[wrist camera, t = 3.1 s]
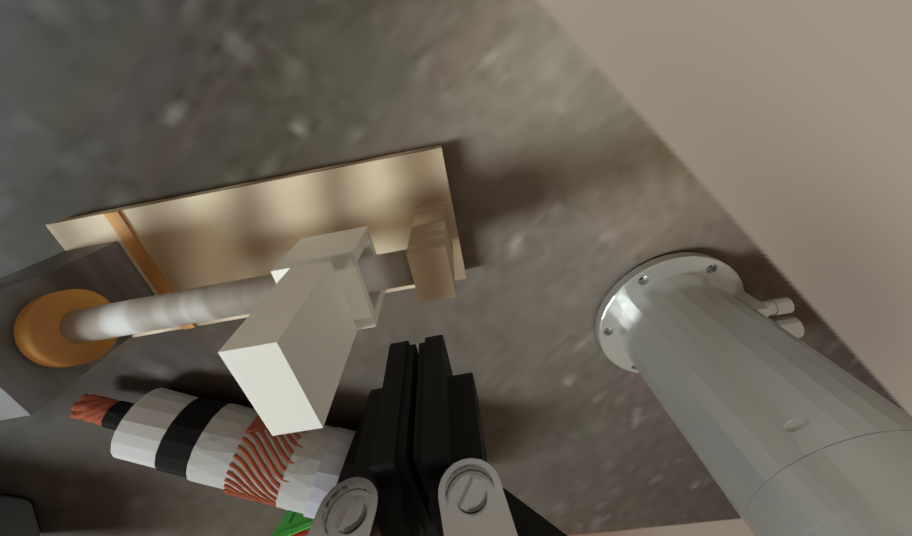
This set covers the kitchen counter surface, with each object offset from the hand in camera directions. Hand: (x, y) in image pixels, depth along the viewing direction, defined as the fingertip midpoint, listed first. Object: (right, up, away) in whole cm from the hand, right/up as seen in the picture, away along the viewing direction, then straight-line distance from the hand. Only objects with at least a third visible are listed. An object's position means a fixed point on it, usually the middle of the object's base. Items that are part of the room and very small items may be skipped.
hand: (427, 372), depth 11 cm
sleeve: (-6, +4, +10) cm, 12 cm away
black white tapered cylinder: (-16, -12, +25) cm, 32 cm away
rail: (-13, +5, +16) cm, 21 cm away
